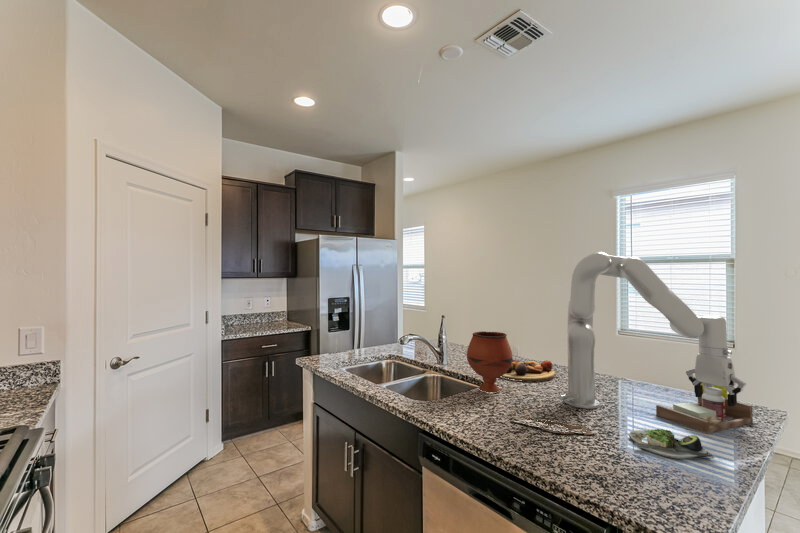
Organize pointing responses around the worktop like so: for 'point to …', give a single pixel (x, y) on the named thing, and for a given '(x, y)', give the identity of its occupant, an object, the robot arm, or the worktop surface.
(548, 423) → the wooden fragment
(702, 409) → the sage painted offcut
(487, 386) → the goblet
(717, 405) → the pill bottle
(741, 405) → the walnut rack
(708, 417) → the ash offcut
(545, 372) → the wooden plate with food
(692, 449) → the salad plate
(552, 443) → the worktop surface
